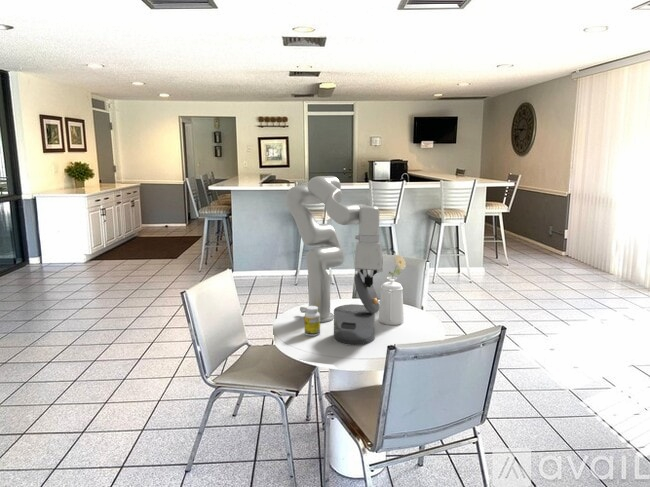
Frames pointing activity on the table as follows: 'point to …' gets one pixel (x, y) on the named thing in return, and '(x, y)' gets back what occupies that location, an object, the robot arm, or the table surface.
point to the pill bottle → (312, 321)
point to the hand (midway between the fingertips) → (368, 286)
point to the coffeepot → (391, 303)
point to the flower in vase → (400, 264)
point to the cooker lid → (366, 294)
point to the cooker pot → (353, 325)
